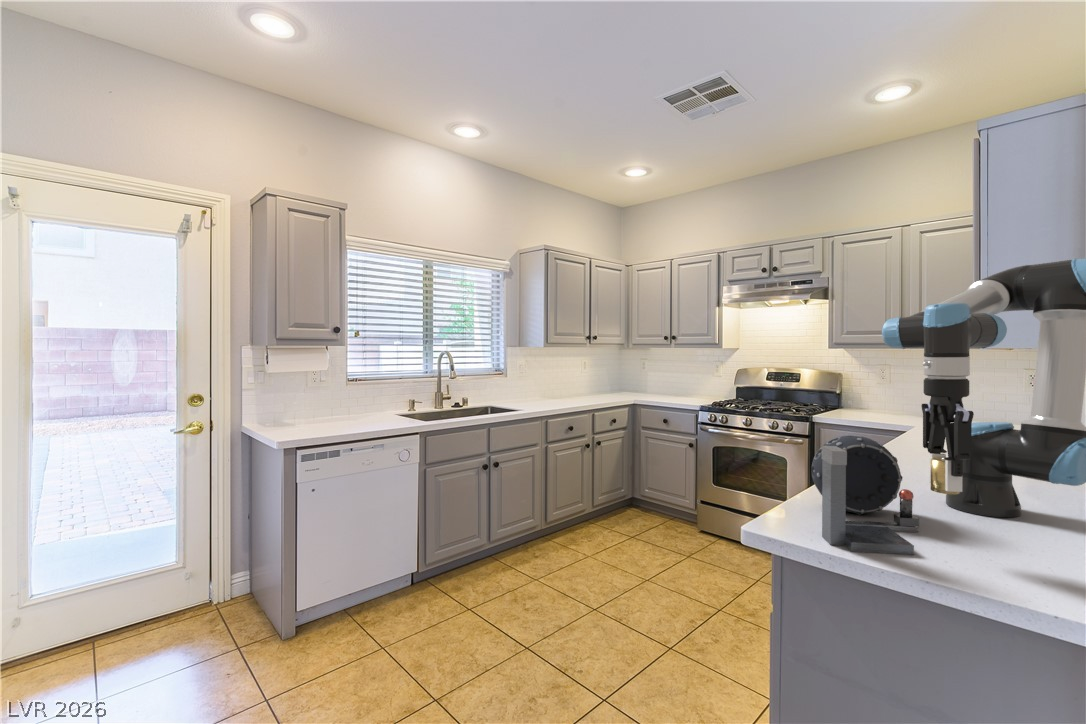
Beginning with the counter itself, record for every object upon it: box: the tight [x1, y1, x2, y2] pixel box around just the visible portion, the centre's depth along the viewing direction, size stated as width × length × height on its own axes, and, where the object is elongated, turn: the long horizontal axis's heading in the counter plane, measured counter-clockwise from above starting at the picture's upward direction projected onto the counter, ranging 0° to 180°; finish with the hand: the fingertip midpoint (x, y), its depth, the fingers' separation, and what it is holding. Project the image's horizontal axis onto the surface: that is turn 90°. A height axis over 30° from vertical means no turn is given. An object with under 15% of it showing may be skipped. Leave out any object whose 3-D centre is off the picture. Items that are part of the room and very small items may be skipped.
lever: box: [892, 488, 920, 527], centre depth 119 cm, size 4×3×8 cm
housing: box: [930, 458, 960, 495], centre depth 106 cm, size 5×5×7 cm
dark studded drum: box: [811, 435, 903, 516], centre depth 133 cm, size 11×20×20 cm, turn 78°
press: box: [821, 445, 919, 556], centre depth 113 cm, size 23×17×21 cm
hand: (945, 487), depth 106 cm, fingers closed on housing, 5 cm apart
